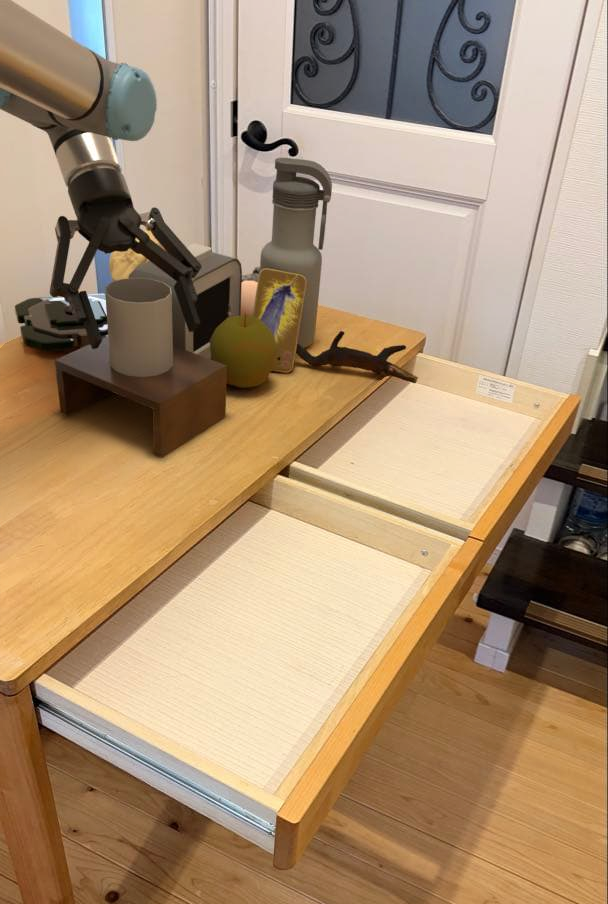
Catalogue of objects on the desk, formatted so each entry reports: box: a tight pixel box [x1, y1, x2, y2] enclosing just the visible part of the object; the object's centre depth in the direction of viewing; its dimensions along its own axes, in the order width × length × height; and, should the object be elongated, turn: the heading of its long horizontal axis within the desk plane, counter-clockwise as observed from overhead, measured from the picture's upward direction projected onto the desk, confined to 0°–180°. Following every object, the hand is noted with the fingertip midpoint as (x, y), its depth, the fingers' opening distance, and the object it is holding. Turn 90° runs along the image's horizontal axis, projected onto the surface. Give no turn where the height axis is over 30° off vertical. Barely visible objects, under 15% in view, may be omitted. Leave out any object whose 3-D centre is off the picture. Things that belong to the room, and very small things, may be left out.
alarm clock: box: [129, 242, 243, 359], centre depth 127 cm, size 16×11×16 cm
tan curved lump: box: [108, 229, 166, 282], centre depth 143 cm, size 11×12×11 cm
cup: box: [104, 278, 173, 377], centre depth 107 cm, size 8×8×10 cm
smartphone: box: [253, 268, 306, 374], centre depth 127 cm, size 8×15×1 cm
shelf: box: [54, 337, 227, 458], centre depth 112 cm, size 14×18×8 cm
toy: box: [295, 330, 419, 384], centre depth 129 cm, size 23×7×5 cm
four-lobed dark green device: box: [14, 293, 108, 352], centre depth 133 cm, size 18×18×5 cm
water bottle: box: [259, 157, 333, 349], centre depth 129 cm, size 10×10×28 cm
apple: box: [210, 314, 278, 389], centre depth 121 cm, size 10×10×11 cm
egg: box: [240, 281, 258, 317], centre depth 141 cm, size 7×7×8 cm
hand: (147, 336), depth 106 cm, fingers open, 13 cm apart
